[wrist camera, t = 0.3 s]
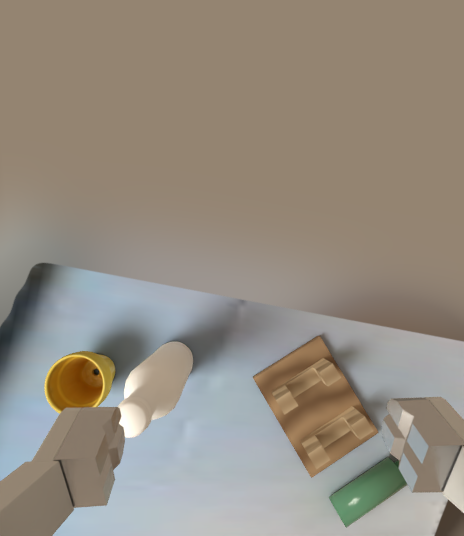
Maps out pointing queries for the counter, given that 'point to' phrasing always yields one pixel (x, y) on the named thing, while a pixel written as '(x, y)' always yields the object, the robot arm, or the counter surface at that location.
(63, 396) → the plant pot
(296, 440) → the bottle rest
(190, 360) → the bottle
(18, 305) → the counter surface
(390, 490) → the bottle
